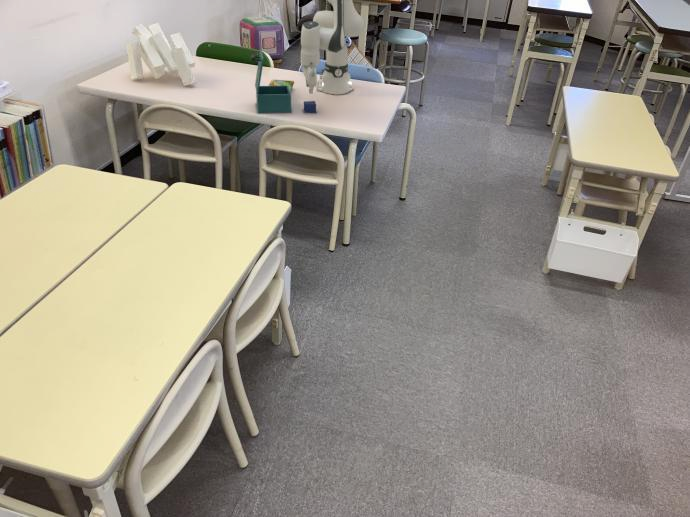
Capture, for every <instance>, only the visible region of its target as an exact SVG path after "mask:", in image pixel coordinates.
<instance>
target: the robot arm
mask: <svg viewBox="0 0 690 517" xmlns="http://www.w3.org/2000/svg"><path fill="white" fill-rule="evenodd" d="M326 1H327V2H328V3H329V4H331V6H332V8H333V10H319V11H317V12H316V13H315V14H314V15H313V19H312V20H308V21H305V22H303V24H302V26H301V31H300V47H301V50H300V65H302V73H303V76H304V78H305V86H306V88H308V93H309V94H310V95H313V94H314V88H315V87H317V85H318V87H317V91H318V92H321V93H322V92H323V93H325V94H329V95H345V94H347V93H349V92H351V91H354V88H353V87H352V86H351V85H352V82H351V74H350V73H349V72H348V71H349V63H348V56H349V49H348V47H347V46H346V38H356V37H359V36H361V34H362V33H363V31H364V28H365V22H364V19H363V17H362V16H361V15H360V14H359V13H358V11H357V9H356V8H355V4H354V1H353V0H326ZM320 50H322V51H325V57H324V58H323V60H325V63H324V67H325V69H324V70H323V69H322V74H320V75H319V80H318V79H317V77H318V73H317V68H318V66H320V65H321V64H320V63H321V62H320V61H321V52H320ZM317 81H318V82H317Z"/></svg>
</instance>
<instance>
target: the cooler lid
mask: <svg viewBox="0 0 690 517" xmlns="http://www.w3.org/2000/svg"><path fill="white" fill-rule="evenodd" d="M250 58H251V61H252V62H256V61H257V68H256V77H255V82H254V86H255V94H256V93H257V94H259V87H260V86H261V80H262V74H263V67H264V62H265V61H264V60H265V59H264V54H263V51H262V50H259V56H258V55H255V54H254V53H252V54H250Z"/></svg>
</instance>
